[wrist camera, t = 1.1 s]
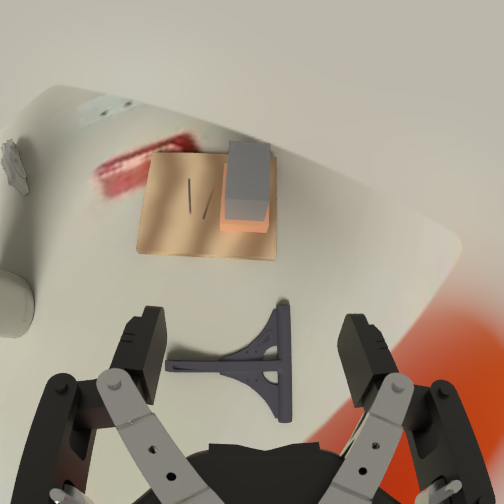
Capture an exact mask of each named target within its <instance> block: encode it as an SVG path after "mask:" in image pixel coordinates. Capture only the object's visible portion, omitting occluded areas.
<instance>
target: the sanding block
mask: <svg viewBox="0 0 504 504" xmlns="http://www.w3.org/2000/svg"><path fill="white" fill-rule="evenodd" d="M269 202H270V143H257V142H241V141H229V151H228V163H224V173H223V185H222V198H221V211H220V231H240V232H258V233H267V230H268V227H269Z"/></svg>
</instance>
